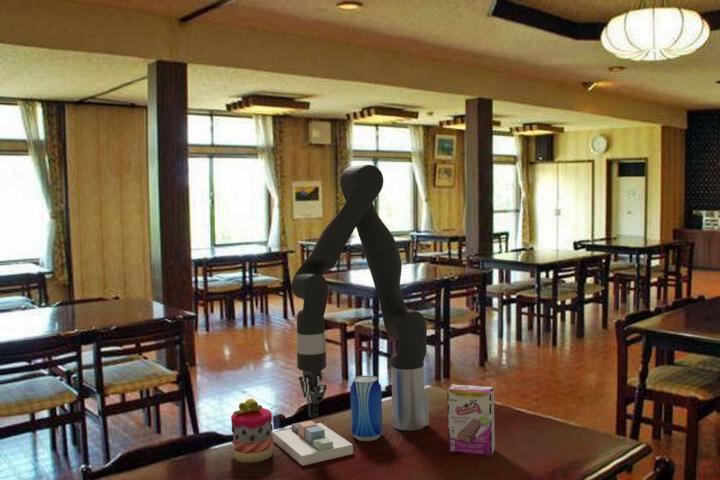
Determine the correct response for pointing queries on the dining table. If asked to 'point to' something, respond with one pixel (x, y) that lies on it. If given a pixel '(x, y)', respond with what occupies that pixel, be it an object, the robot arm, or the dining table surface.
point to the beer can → (366, 408)
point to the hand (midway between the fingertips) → (313, 416)
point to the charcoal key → (295, 428)
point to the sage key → (322, 444)
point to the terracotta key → (302, 428)
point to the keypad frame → (311, 446)
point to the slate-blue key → (314, 434)
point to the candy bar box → (471, 419)
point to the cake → (252, 432)
